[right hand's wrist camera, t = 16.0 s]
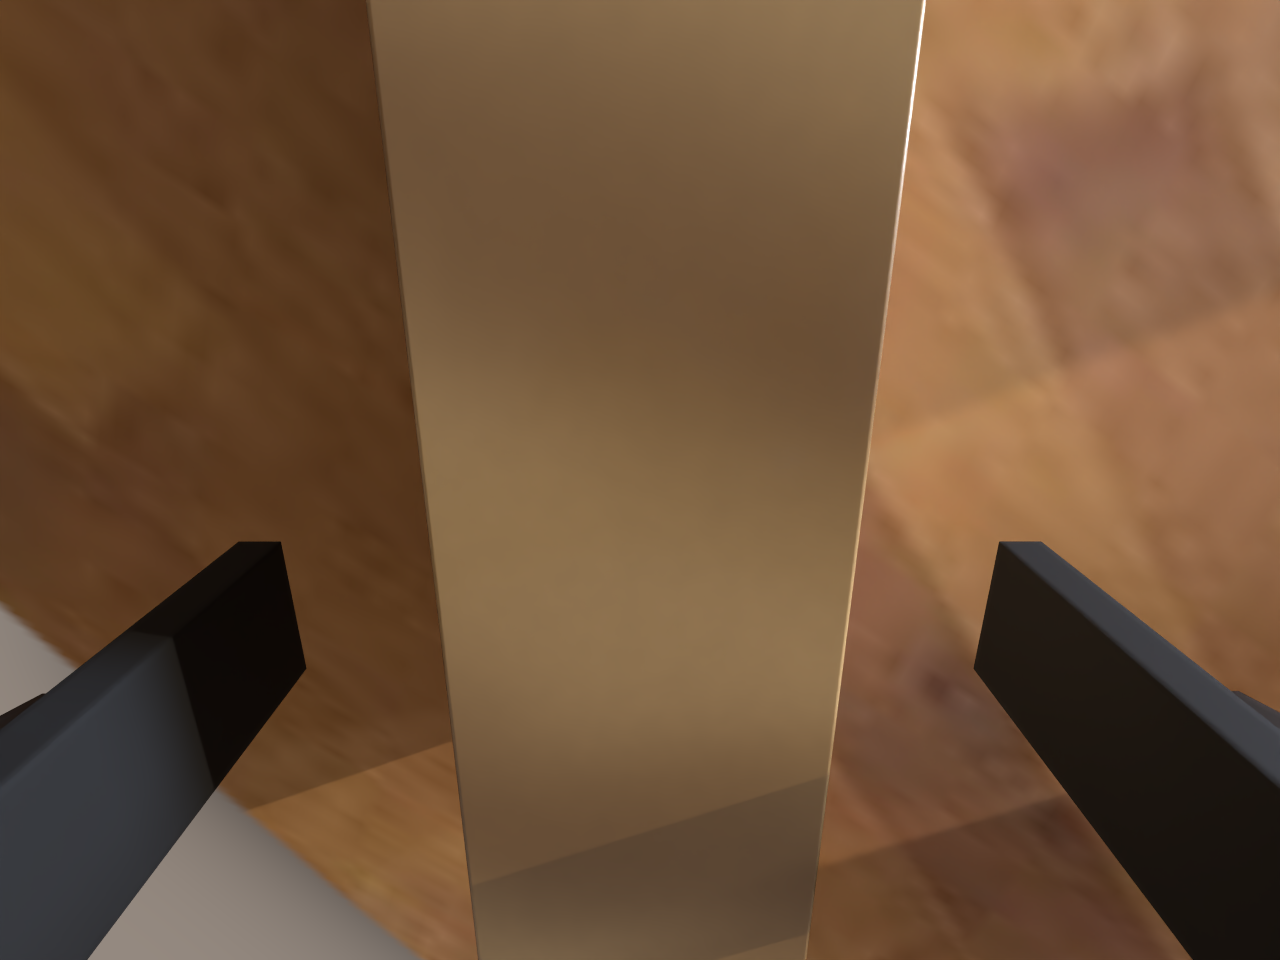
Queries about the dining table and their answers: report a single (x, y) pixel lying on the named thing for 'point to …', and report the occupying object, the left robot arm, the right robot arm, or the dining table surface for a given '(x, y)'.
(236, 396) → the dining table surface
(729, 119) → the beam
